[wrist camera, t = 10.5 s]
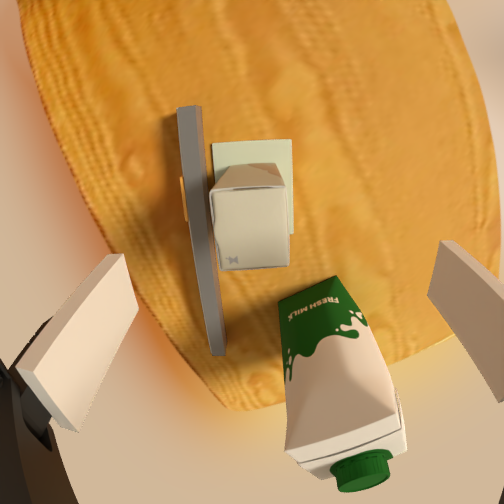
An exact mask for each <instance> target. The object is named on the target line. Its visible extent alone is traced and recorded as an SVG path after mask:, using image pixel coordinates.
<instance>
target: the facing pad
mask: <svg viewBox="0 0 504 504" xmlns="http://www.w3.org/2000/svg"><path fill="white" fill-rule="evenodd" d="M212 150H213V162H214V173H215V184H216V183H217V182H218V180H219V179H220V178H221V176H222V175H223V174H224V173H225V171H226V170H227V169H228V168H229V166H230V165H238V164H250V163H276V165H277V167H278V170H279V172H280V174H281V176H282V179H283V181H284V184H285V186H286V188H287V200H288V216H289V234H293V171H292V140H291V139H277V140H253V141H236V142H223V143H212Z"/></svg>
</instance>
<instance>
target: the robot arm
mask: <svg viewBox="0 0 504 504" xmlns="http://www.w3.org/2000/svg"><path fill="white" fill-rule="evenodd" d="M427 296H428V298H429V299H430V300H431V302H432V303H433V304H434V305H435V307H436V308H437V310H438V311H439V312H440V314H441V315H442V316H443V318H444V319H445V320H446V322H447V323H448V325H449V326H450V327H451V329H452V330H453V332H454V333H455V334H456V336H457V337H458V339H459V340H460V342H461V343H462V345H463V346H464V348H465V349H466V350H467V352H468V354H469V355H470V357H471V358H472V360H473V361H474V363H475V364H476V366H477V368H478V369H479V370H480V372H481V374H482V376H483V377H484V379H485V381H486V382H487V384H488V386H489V387H490V389H491V391H492V393H493V394H494V396H495V398H496V399H497V401H498V403H500V402H502V401H504V284H503V283H501V282H500V281H499V280H498V279H497V278H496V277H495V276H494V275H493V274H492V273H491V272H490V271H488V270H487V269H486V268H485V267H484V266H483V265H482V264H481V263H479V262H478V261H477V260H476V259H475V258H474V257H472V256H471V255H470V254H469V253H468V252H467V251H465V250H464V249H463V248H462V247H460V246H459V245H458V244H457V243H456V242H454V241H453V240H448V241H440V243H439V248H438V252H437V257H436V262H435V266H434V270H433V274H432V278H431V282H430V286H429V290H428V294H427ZM138 310H139V308H138V305H137V301H136V298H135V294H134V291H133V288H132V284H131V280H130V277H129V273H128V269H127V265H126V262H125V258H124V254H108V255H107V256H106V257H105V258H104V259H103V260H102V261H101V262H100V263H99V264H98V265H97V266H96V267H95V269H94V270H93V271H92V272H91V273H90V274H89V275H88V276H87V277H86V279H85V280H84V281H83V282H82V283H81V284H80V285H79V286H78V288H77V289H76V290H75V291H74V292H73V293H72V295H71V296H70V297H69V298H68V299H67V300H66V302H65V303H64V304H63V305H62V306H61V308H60V309H59V310H58V311H57V312H56V314H55V315H54V316H53V317H51V318H50V319H48V320H47V321H46V322H44V323H43V324H42V325H41V327H40V328H39V329H38V330H37V332H36V333H35V335H34V336H33V337H32V338H31V339H30V341H29V343H27V345H26V346H25V347H24V349H23V350H22V351H21V353H20V354H19V355H18V357H17V358H16V359H15V361H14V362H13V364H12V365H11V366H10V368H9V369H8V370H7V368H6V367H5V365H4V363H3V362H2V360H1V359H0V504H79V503H78V501H77V499H76V496H75V494H74V492H73V489H72V487H71V484H70V482H69V479H68V476H67V473H66V471H65V468H64V465H63V462H62V459H61V456H60V453H59V450H58V446H57V443H56V439H55V435H54V432H53V429H52V427H51V426H50V424H49V421H50V419H51V417H53V418H54V419H55V421H56V422H57V423H58V424H59V425H60V427H62V428H65V429H68V430H72V431H75V432H78V433H79V432H80V430H81V427H82V425H83V423H84V420H85V418H86V416H87V413H88V411H89V408H90V407H91V404H92V402H93V400H94V398H95V396H96V393H97V391H98V389H99V387H100V385H101V383H102V381H103V379H104V376H105V374H106V372H107V370H108V368H109V366H110V364H111V362H112V360H113V358H114V356H115V354H116V352H117V350H118V348H119V346H120V344H121V342H122V340H123V338H124V336H125V334H126V332H127V330H128V329H129V326H130V325H131V323H132V321H133V319H134V317H135V316H136V313H137V312H138ZM499 504H504V488H503V491H502V495H501V498H500V501H499Z"/></svg>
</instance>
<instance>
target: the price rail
mask: <svg viewBox="0 0 504 504" xmlns="http://www.w3.org/2000/svg"><path fill="white" fill-rule="evenodd" d="M176 109H177V121H178V133H179V144H180V154H181V163H182V173H183V175H182V176H181V177H180V185H181V193H182V201H183V209H184V216H185V222H188V221H189V228H190V235H191V242H192V249H193V255H194V262H195V268H196V274H197V280H198V286H199V292H200V298H201V304H202V309H203V315H204V320H205V325H206V331H207V336H208V341H209V346H210V351H211V353H212V356H225V354H226V346H227V337H226V330H225V323H224V316H223V309H222V302H221V294H220V287H219V279H218V271H217V263H216V255H215V247H214V238H213V229H212V220H211V211H210V202H209V192H208V182H207V171H206V160H205V149H204V137H203V125H202V112H201V107H200V106H196V105H194V106H186V107H179V108H176Z"/></svg>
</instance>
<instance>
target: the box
mask: <svg viewBox="0 0 504 504" xmlns="http://www.w3.org/2000/svg"><path fill="white" fill-rule="evenodd" d="M209 198H210V208H211V216H212V224H213V231H214V238H215V245H216V251H217V258H218V264H219V269H220V270H221V271H235V270H253V269H266V268H277V267H287V266H289V216H288V200H287V188H286V186H285V184H284V181H283V179H282V176H281V174H280V172H279V170H278V167H277V165H276V163H250V164H238V165H230V166H229V168H228V169H227V170H226V171H225V173H224V174H223V175H222V176H221V178H220V179H219V180H218V182H217V183H216V184H215V185H214V187H213V188H212V189H211V191H210V192H209Z"/></svg>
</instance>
